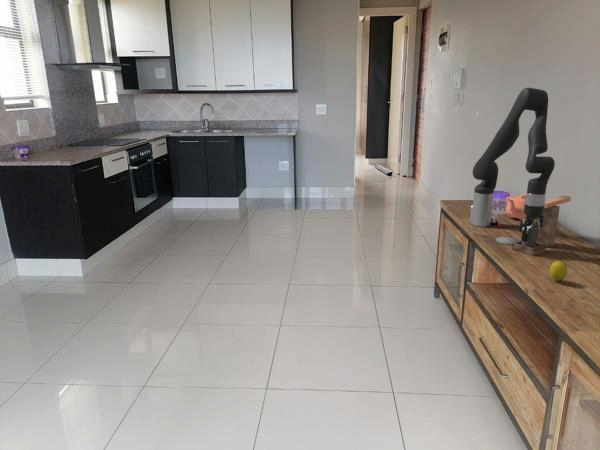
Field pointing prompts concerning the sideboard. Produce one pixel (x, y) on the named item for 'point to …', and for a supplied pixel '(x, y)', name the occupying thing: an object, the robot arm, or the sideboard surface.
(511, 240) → the mat
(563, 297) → the sideboard surface
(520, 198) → the teapot
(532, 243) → the bottle
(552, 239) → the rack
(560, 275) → the lemon
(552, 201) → the bar
